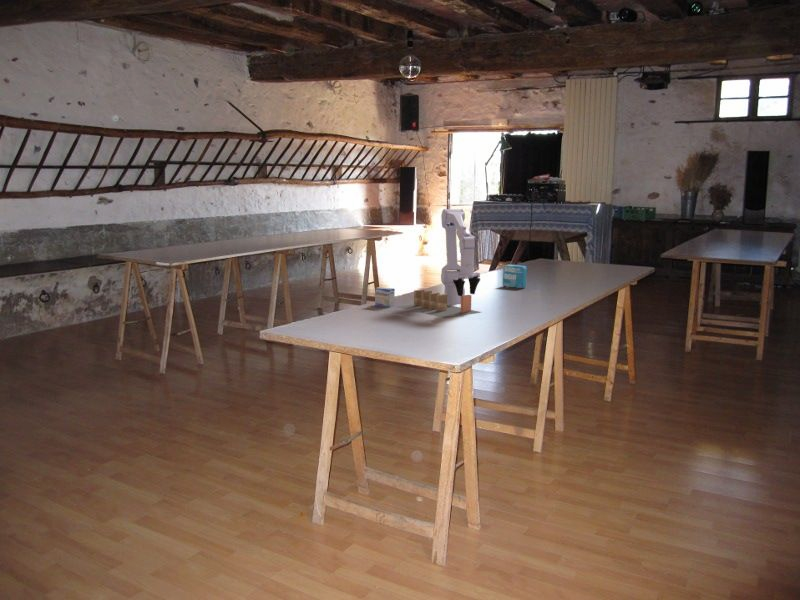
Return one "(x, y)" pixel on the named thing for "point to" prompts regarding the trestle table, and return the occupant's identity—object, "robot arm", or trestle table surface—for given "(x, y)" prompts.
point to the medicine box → (384, 297)
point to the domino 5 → (465, 303)
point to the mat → (449, 313)
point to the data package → (514, 276)
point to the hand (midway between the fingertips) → (466, 294)
